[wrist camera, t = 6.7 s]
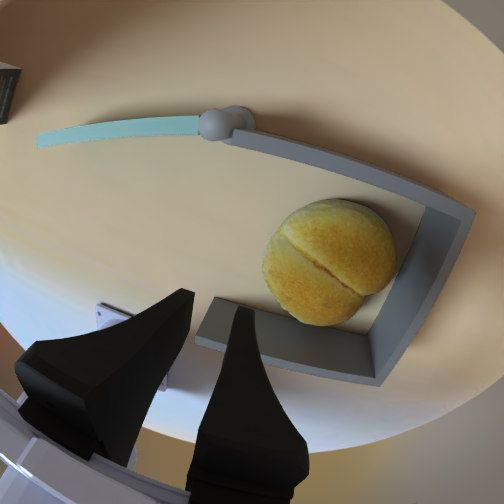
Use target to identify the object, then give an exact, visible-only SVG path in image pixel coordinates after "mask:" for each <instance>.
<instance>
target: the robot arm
mask: <svg viewBox="0 0 504 504" xmlns="http://www.w3.org/2000/svg"><path fill="white" fill-rule="evenodd" d="M194 296H195V292H192V291H189V290H186V289H183V288H180V289H178V290H177V291H175V292H174V293H172V294H171V295H169V296H168V297H166V298H164V299H163V300H161V301H160V302H158V303H156V304H155V305H153V306H151V307H150V308H148V309H146V310H144V311H143V312H141V313H139V314H137V315H135V316H133V317H131V316H128V315H126V314H123V313H121V312H118V311H116V310H113V309H111V308H109V307H106V306H104V305H101V304H97V305H96V306H95V311H96V319H97V327H98V331H94V332H91V333H88V334H84V335H79V336H74V337H69V338H63V339H55V340H44V341H36V342H35V343H33V344H32V345H31V346H30V347H29V348H28V350H27V351H26V352H25V353H24V354H23V355H22V356H21V357H20V358H19V359H18V360H17V361H16V363H15V365H14V366H15V373H16V375H17V377H18V379H19V381H20V383H21V385H22V387H23V389H24V392H23V393H22V395H21V396H20V397H19V399H18V400H17V401H15V400H13V399H12V398H11V397H10V396H9V395H7V394H6V393H5V392H4V391H3V390H1V389H0V459H1V460H2V461H3V462H5V463H6V464H7V465H8V468H7V469H6V471H5V472H4V474H3V476H2V477H1V479H0V504H158V503H159V504H290V499H292V498H293V495H294V487H296V486H297V485H298V484H299V483H301V482H302V481H303V480H304V479H305V478H306V477H307V476H308V475H309V454H308V448H307V443H306V441H305V440H304V438H303V437H302V436H301V435H300V433H299V432H298V431H297V429H296V428H295V427H294V425H293V424H292V422H291V421H290V419H289V418H288V416H287V415H286V413H285V411H284V410H283V408H282V406H281V404H280V402H279V401H278V399H277V397H276V395H275V393H274V391H273V389H272V386H271V384H270V382H269V379H268V377H267V374H266V372H265V369H264V366H263V362H262V359H261V355H260V351H259V347H258V342H257V337H256V330H255V311H254V310H253V309H250V308H246V307H243V306H239V305H238V308H237V310H236V313H235V315H234V319H233V323H232V327H231V331H230V335H229V339H228V343H227V347H226V351H225V355H224V359H223V364H222V369H221V372H220V375H219V377H218V380H217V383H216V386H215V388H214V391H213V394H212V396H211V399H210V401H209V404H208V406H207V409H206V411H205V414H204V416H203V419H202V421H201V424H200V426H199V429H198V434H197V439H196V445H195V450H194V455H193V459H192V462H191V465H190V468H189V471H188V474H187V482H186V487H185V490H182V489H179V488H176V487H172V486H170V485H167V484H164V483H161V482H159V481H156V480H153V479H151V478H148V477H146V476H143V475H141V474H138V473H136V472H134V471H133V468H134V466H135V463H136V458H137V453H136V446H135V442H136V439H137V437H138V434H139V431H140V429H141V426H142V424H143V421H144V419H145V417H146V414H147V412H148V409H149V407H150V405H151V403H152V400H153V398H154V396H155V394H156V392H157V390H160V391H163V392H164V391H166V389H167V372H168V371H169V369H170V367H171V366H172V364H173V362H174V361H175V359H176V357H177V356H178V354H179V352H180V350H181V349H182V347H183V344H184V342H185V340H186V337H187V335H188V333H189V330H190V324H191V317H192V310H193V303H194ZM413 504H416V503H413Z"/></svg>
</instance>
